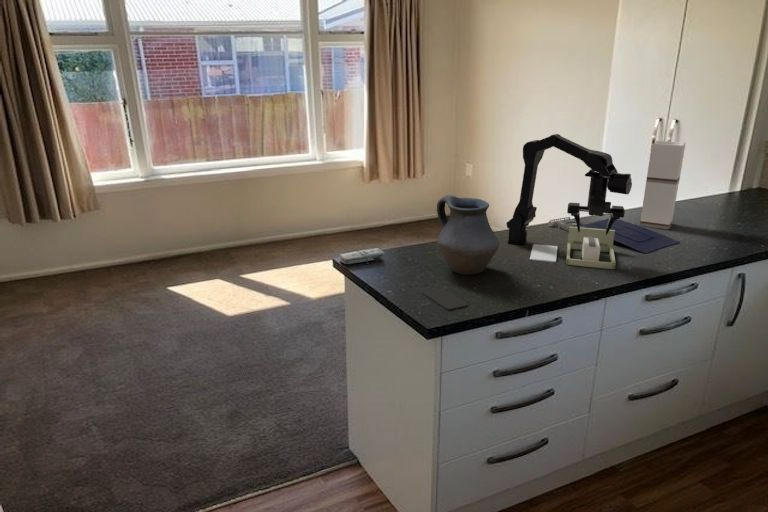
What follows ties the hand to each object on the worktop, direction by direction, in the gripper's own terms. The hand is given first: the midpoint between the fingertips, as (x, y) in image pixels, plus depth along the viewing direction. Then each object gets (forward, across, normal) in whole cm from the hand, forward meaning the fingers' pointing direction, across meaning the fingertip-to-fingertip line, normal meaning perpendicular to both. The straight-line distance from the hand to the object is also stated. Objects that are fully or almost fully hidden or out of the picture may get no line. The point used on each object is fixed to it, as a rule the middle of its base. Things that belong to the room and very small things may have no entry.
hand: (592, 233), depth 204 cm
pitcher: (+10, -41, -26) cm, 49 cm away
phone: (+10, -42, -53) cm, 68 cm away
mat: (+9, -16, 0) cm, 18 cm away
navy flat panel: (+10, +15, +29) cm, 34 cm away
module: (+9, 0, 0) cm, 9 cm away
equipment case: (+9, 0, 0) cm, 9 cm away
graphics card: (+10, -7, +36) cm, 38 cm away
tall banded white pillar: (+9, +28, +55) cm, 62 cm away
